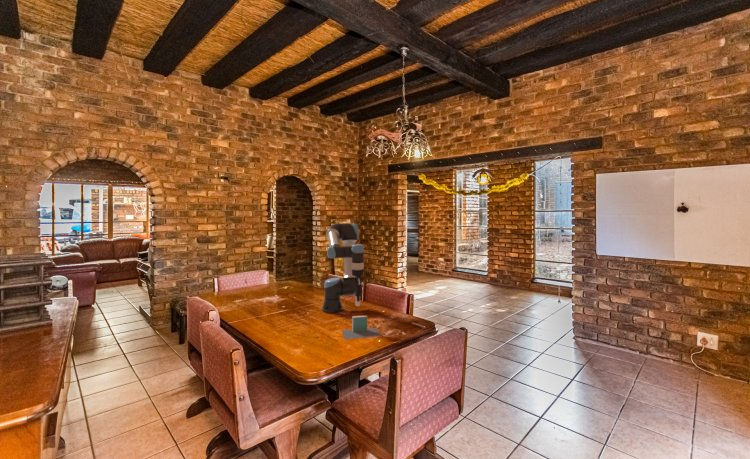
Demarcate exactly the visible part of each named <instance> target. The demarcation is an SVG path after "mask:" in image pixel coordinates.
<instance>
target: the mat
mask: <svg viewBox="0 0 750 459" xmlns="http://www.w3.org/2000/svg"><path fill="white" fill-rule="evenodd" d="M341 333H342V336H343V339H344V340H351V339H353V340H354V339H363V338H376V337H377V338H379V337H382V335H381V333H380V332H379V330H378V328H377V327H367V331H358V332H353V331H352V329H342V330H341Z"/></svg>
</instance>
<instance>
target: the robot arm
mask: <svg viewBox="0 0 750 459" xmlns="http://www.w3.org/2000/svg"><path fill="white" fill-rule="evenodd" d="M325 236H326V239H327V240H328V246H327V248H326V253H327V254H326V255H327V258H328V259H343V261H344V276H342V279H341V278H340V277H331V278H328V279H326V280H324V283H323V284H324V286H323V287H324V296H323V297H324V301H323V303H322V308H321V311H322V312H324V313H329V314H333V313H335V314H336V313H340V312H342V311H343V309H344V308H343V304H342V300H341V296H342V297H344V296H354V297H355V306H356V307H361V296H362V278H361V277H362V276H364V275H365V274H364V273H365V270H364V267H365V261H364V260H365V258H364V252H365V249H364V248H365V247H364V245H363V244H360V243H357V244H356V242H358V239H359V238H360V233H359V227H358V225H357V223H353V222H351V223H349V222H348V223H334V224H332V225H330V226H329V227H328V228H327V230H326V231H325ZM340 240H341V241H340ZM340 242H342V243H343V245H341V243H340Z"/></svg>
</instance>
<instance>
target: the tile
mask: <svg viewBox="0 0 750 459" xmlns="http://www.w3.org/2000/svg"><path fill="white" fill-rule="evenodd" d="M351 323H352V326H351V327H352V328H351V330H352V331H353V332H358V331H367V328H368V315H354V316H353V315H352V322H351Z"/></svg>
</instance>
